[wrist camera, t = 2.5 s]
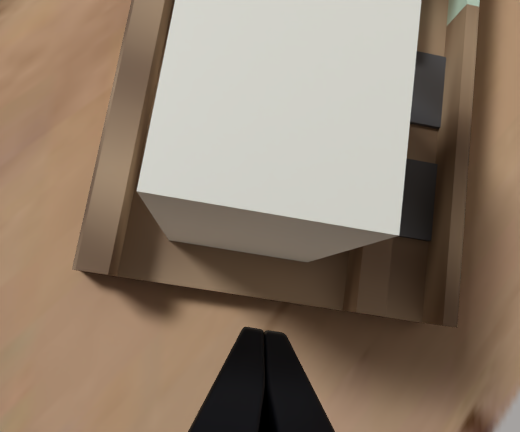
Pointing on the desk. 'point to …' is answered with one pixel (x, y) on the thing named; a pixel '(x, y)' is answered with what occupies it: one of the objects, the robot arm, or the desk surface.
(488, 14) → the desk surface
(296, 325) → the desk surface
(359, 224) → the block
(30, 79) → the desk surface
